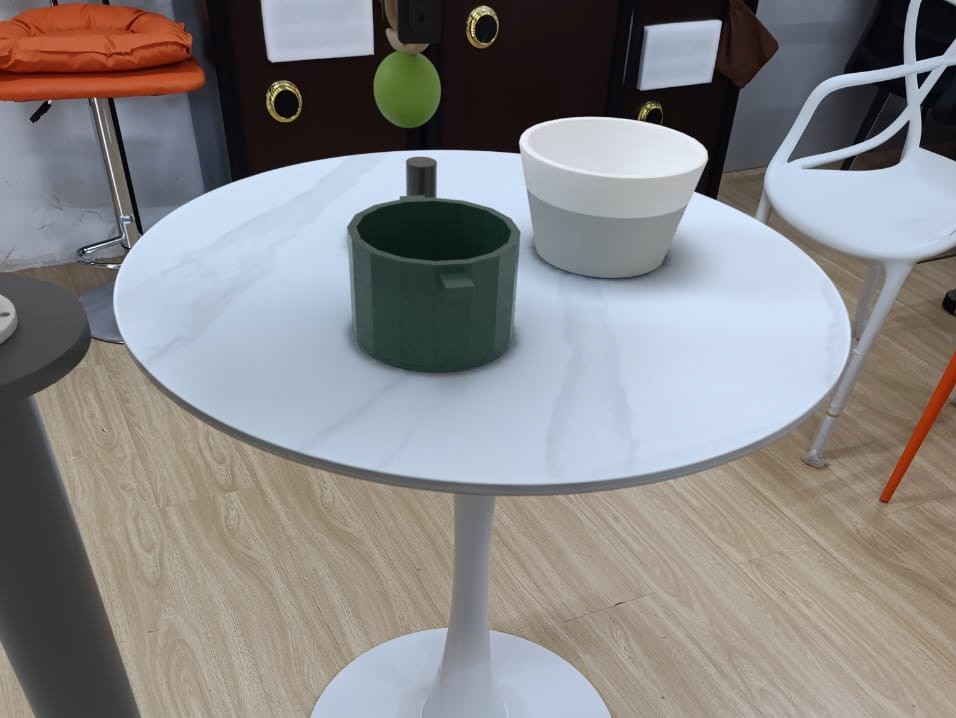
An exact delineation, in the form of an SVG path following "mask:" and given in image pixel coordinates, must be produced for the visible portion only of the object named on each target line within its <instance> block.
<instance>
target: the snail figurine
mask: <svg viewBox="0 0 956 718" xmlns="http://www.w3.org/2000/svg"><path fill="white" fill-rule="evenodd" d="M385 10H386V15H387V18H388V21H389V23H390V24H389V25H390V27H391V28H390V27H388V28H386V30H385V34H386V37H387V40H388V42H389V44H390V45H391V47H392V48H393V49H394V50H395V51H394V52H392V53H389V54H388V55H387V56H386V57H385V58H384V59H382V61H381V63H380V64H379V65H378V67H377V70H376V72H375V75H374V79H373V96H374V99H375V103H376V106H377V108H378V110H379V112H380V113H381V114H382V116H384V118H385V119H386V120H387V121H389V122H390V123H392V124H393V125H395V126H398V127H399V128H406V129H414V128H418V127H421V126H422V125H423V124H426V123H427V122H428V121H429V120H430V119H431V118H432V117H433V116H434V115H435V113H436V111H437V110H438V107H439V104H440V101H441V93H442V89H441V88H442V86H441V80H440V76H439V74H438V71H437V69H436V67H435V66H434V64H433V63H432V62H431V61H430V60H429V58H427V56H425V55H424V54H422V53H421V52H423V51H424V50H426V48H428V47H429V45H430V44H402V43H400V41H399V40H398V37H397V0H385Z"/></svg>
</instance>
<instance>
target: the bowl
mask: <svg viewBox="0 0 956 718" xmlns="http://www.w3.org/2000/svg"><path fill="white" fill-rule="evenodd" d="M518 145H519V151H520V158H521V164H522V171H523V176H524V183H525V187H526V188H525V189H526V193H527V200H528V207H529V213H530V220H531V226H532V234H533V240H534V245H535V250H536V253H537V254H538V255H539V257H540V258H541V259H542V260H543V261H545V262H546V263H548V264H550V265H551V266H553V267H555V268H557V269H560V270H563V271H566V272H568V273H572V274H576V275H580V276H586V277H593V278H602V279H620V278H632V277H637V276H641V275H644V274H648V273H650V272H652V271H654V270H656V269H658V268H659V267H660V266H661V265H662V263H663V261H664V260H665V257H666V255H667V253H668V250H669V248H670V245H671V244H672V242H673V239H674V236H675V235H676V233H677V230H678V228H679V225H680V223H681V221H682V219H683V217H684V214H685V211H687V207H688V205H689V203H690V202H691V199H692V197H693V195H694V193H695V190H696V188H697V186H698V183H699V181H700V179H701V176H702V174H703V172H704V169H705V167H706V166H707V164H708V161H709V155H708V150H707V149H706V147H705V146H704V144H702V143H700V141H698V140H697V139H696V138H694V137H691V136H690V135H688V134H686V133H684V132H681V131H678V130H676V129H673V128H670V127H666V126H664V125H659V124H656V123H653V122H652V123H651V122H646V121H641V120H635V119H628V118H620V117H619V118H618V117H607V116H583V117H582V116H577V117H566V118H558V119H553V120H547V121H544V122H540V123H537V124H535V125H533V126H531V127H528V128H527V129H525V130H524V131H523V133H522V134H521V135H520V138H519V141H518Z"/></svg>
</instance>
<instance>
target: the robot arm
mask: <svg viewBox="0 0 956 718" xmlns="http://www.w3.org/2000/svg"><path fill="white" fill-rule="evenodd" d="M381 18H382V21H383V22H384V23H385V24H388V25H390V23H389V21H388V18H387V15H386V10H385V0H381ZM441 22H442V0H397V37H398V40H399V41H400V43H402V44H429V45H436V44H438V43H440V41H441V35H442V34H441V31H442V29H441V28H442V23H441ZM17 325H18V316H17V313H16V311H15V308H14V305H13V304H12V303H11V302H10V301H9V299H7V298H5V297H4V296H2V295H0V344H2V343H3V342H4V341H6V340H7V339H8V338H9V337H10V336H11V335H12V334H13V332H14V331H15V330H16V328H17Z"/></svg>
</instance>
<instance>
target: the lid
mask: <svg viewBox="0 0 956 718" xmlns="http://www.w3.org/2000/svg"><path fill="white" fill-rule="evenodd" d="M437 179H438V161H437V160H436V159H435V158H432V157H429V156H412V157H408V158H407V159H406V160H405V196H417V195H424V196H425V197H426V198H438V195H437V194H438V193H437V191H438V180H437Z"/></svg>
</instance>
